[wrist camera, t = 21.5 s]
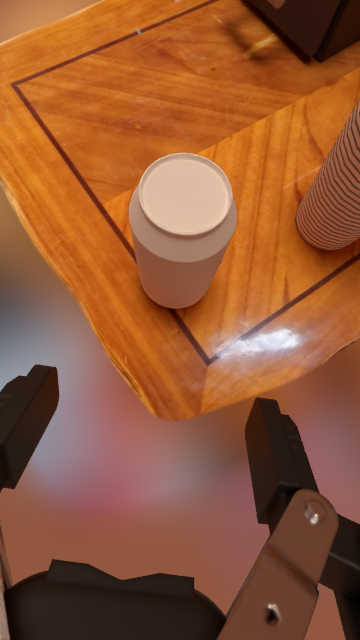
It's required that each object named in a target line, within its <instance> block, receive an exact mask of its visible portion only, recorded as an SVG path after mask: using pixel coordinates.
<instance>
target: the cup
mask: <svg viewBox="0 0 360 640" xmlns="http://www.w3.org/2000/svg"><path fill="white" fill-rule="evenodd" d="M296 223H297V227H298V231H299V232H300V234H301V235H302V237H303V238H304V240H305V241H307V242H308V243H310V244H311V245H312V246H314V247H316V248H319V249H323V250H326V251H329V250H340V249H342V248H343V247H345V246H347V245H349V244H350V243H352V242H354V241H355V240H357V239H358V238H360V100H359V101H358V103H357V105H356V107H355V108H354V110H353V112H352V114H351V115H350V117H349V119H348V121H347V122H346V124H345V126H344V128H343V130H342V131H341V133H340V135H339V137H338V138H337V140H336V142H335V144H334V145H333V147H332V149H331V151H330V152H329V154H328V156H327V158H326V160H325V161H324V163H323V165H322V167H321V168H320V170H319V172H318V174H317V175H316V177H315V179H314V181H313V182H312V184H311V186H310V188H309V190H308V191H307V193H306V195H305V197H304V198H303V200H302V202H301V204H300V205H299V207H298V210H297V215H296Z"/></svg>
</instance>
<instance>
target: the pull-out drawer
mask: <svg viewBox="0 0 360 640" xmlns="http://www.w3.org/2000/svg"><path fill="white" fill-rule="evenodd" d="M252 1H253V2H255V3H256V4H257V5H258V6H259V7H260V8H261V9H262V10H263V11H264V12H265V13H266V14H267V15H268V16H269V17H270V18H271V19H272V20H273V21H274V22H275V23H276V24H277V25H278V26H279V27H280V28H281V29H282V30H283V31H284V32H285V33H286V34H287V35H288V36H289V37H290V38H291V39H292V40H293V41H294V42H295V43H296V44H297V45H298V46H300V47H301V48H302V49H303V50H304V51H305V52H306V53H307V54H308V55H309V56H312V55H313V54H315V53H317V52H318V50H319V48H320V46H321V43H322V41H323V39H324V37H325V35H326V33H327V31H328V29H329V26H330V24H331V22H332V20H333V18H334V15H335V13H336V11H337V9H338V7H339V4H340V2H341V0H252Z"/></svg>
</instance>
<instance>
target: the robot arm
mask: <svg viewBox="0 0 360 640" xmlns="http://www.w3.org/2000/svg"><path fill="white" fill-rule="evenodd" d="M58 401H59V386H58V374H57V368H56V367H50V366H44V365H35V366H33V368H32V369H31V371H30V372H29V373H28V375H27V376H18V377H16V378H15V379H13V380H12V381H10V382H9V383H7V384H6V385H5V387H4V388H3V389H2V390H1V392H0V492H1V490H2V489H3V488H10V489H15V487H16V485H17V483H18V481H19V479H20V477H21V475H22V473H23V472H24V469H25V468H26V466H27V464H28V462H29V460H30V458H31V456H32V454H33V453H34V451H35V449H36V447H37V445H38V443H39V441H40V439H41V437H42V435H43V434H44V432H45V430H46V428H47V426H48V424H49V422H50V420H51V418H52V416H53V414H54V412H55V411H56V408H57V405H58ZM245 440H246V446H247V452H248V459H249V466H250V472H251V479H252V486H253V491H254V492H253V493H254V499H255V506H256V512H257V518H258V523H260V524H268V525H269V530H270V536H269V538H268V539H267V541H266V543H265V545H264V547H263V549H262V550H261V552H260V554H259V556H258V558H257V560H256V561H255V563H254V565H253V567H252V569H251V571H250V573H249V574H248V576H247V578H246V580H245V582H244V583H243V585H242V587H241V589H240V591H239V592H238V594H237V596H236V598H235V600H234V601H233V603H232V605H231V606H230V608H229V610H228V612H227V614H226V616H225V615H224V614H223V612H222V611H221V610H220V609H219V608H218V607H217V606H216V604H215V603H214V602H212V601H211V600H210V599H209V598H208V597H207V596H205V595H204V594H202V593H201V592H199V591H197V590H195V589H194V578H193V577H185V576H178V575H170V574H162V573H158V574H153V575H148V576H143V577H137V578H132V579H127V580H120V579H117V578H115V577H113V576H111V575H109V574H107V573H105V572H103V571H101V570H99V569H97V568H95V567H93V566H91V565H89V564H85V563H77V562H69V561H62V560H54V559H52V562H51V564H50V567H49V570H48V571H43V572H40V573H37V574H34V575H32V576H29V577H27V578H25V579H23V580H21V581H20V582H18V583H17V584H15V585H13V581H12V576H11V572H10V568H9V563H8V559H7V554H6V549H5V544H4V538H3V532H2V527H1V521H0V640H304V638H305V635H306V633H307V630H308V627H309V624H310V621H311V618H312V615H313V612H314V609H315V607H316V604H317V600H318V596H319V591H318V590H317V586H318V582H319V583H321V584H322V585H324V586H326V587H328V588H330V589H332V590H334V594H335V598H336V602H337V606H338V610H339V614H340V618H341V622H342V626H343V630H344V634H345V638H346V640H360V524H358V523H356V522H353V521H351V520H349V519H347V518H345V517H343V516H341V515H339V514H338V513H336V511H335V509H334V507H333V506H332V504H331V503H330V502H329V501H328V500H327V499H326V498H325V497H324V496H322V495H321V494H320V493H319V490H318V488H317V485H316V482H315V479H314V476H313V473H312V470H311V467H310V464H309V461H308V458H307V455H306V452H305V451H304V446H303V443H302V441H301V437H300V434H299V431H298V428H297V426H296V425H295V423H294V422H293V421H292V420H291V418H290V417H289V415H284V414H281V413H280V409H279V406H278V403H277V401H276V400H273V399H266V398H259V397H257V398H256V399H255V401H254V404H253V407H252V409H251V412H250V415H249V417H248V420H247V423H246V428H245Z"/></svg>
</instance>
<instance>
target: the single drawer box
mask: <svg viewBox="0 0 360 640" xmlns="http://www.w3.org/2000/svg"><path fill="white" fill-rule="evenodd" d="M358 40H360V0H341V2H340V4H339V7H338V9H337V11H336V13H335V15H334V18H333V20H332V22H331V24H330V26H329V29H328V31H327V33H326V35H325V37H324V39H323V41H322V43H321V46H320V48H319V50H318V52H317V53H315V54H313V56H314V57H315V58H316V59H317V60H318V61H319V62H322V61H324V60H326V59H327V58H329V57H331V56H333V55H334V54H336V53H338V52H339V51H341V50H343V49H345V48H346V47H348V46H350V45H351V44H353V43H355V42H357V41H358Z"/></svg>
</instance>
